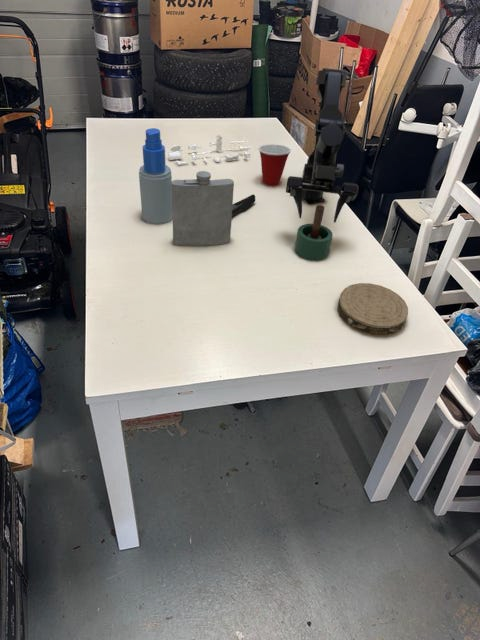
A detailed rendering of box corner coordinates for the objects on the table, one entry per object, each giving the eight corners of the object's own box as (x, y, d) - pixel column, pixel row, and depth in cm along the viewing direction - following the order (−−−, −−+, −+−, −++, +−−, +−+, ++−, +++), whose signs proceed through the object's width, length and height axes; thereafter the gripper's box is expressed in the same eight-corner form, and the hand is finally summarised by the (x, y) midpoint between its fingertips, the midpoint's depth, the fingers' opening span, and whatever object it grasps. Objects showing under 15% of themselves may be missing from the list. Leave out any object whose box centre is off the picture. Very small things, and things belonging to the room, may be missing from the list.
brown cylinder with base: (308, 244, 130) (316, 201, 121) (321, 249, 128) (330, 206, 120) (302, 250, 127) (310, 207, 119) (314, 255, 126) (323, 212, 117)
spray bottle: (153, 206, 141) (148, 122, 125) (178, 214, 138) (176, 129, 122) (136, 218, 135) (128, 131, 118) (162, 227, 132) (158, 139, 116)
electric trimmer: (258, 205, 147) (259, 195, 145) (227, 221, 137) (228, 212, 135) (248, 201, 149) (249, 192, 146) (218, 217, 139) (218, 207, 137)
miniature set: (247, 146, 181) (258, 162, 174) (159, 157, 172) (167, 175, 165) (248, 130, 176) (259, 147, 169) (158, 141, 167) (165, 159, 160)
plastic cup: (276, 173, 166) (281, 140, 158) (291, 186, 158) (297, 152, 151) (249, 177, 162) (252, 143, 154) (264, 190, 155) (268, 155, 147)
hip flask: (229, 237, 131) (233, 169, 117) (231, 244, 128) (236, 176, 115) (172, 239, 128) (170, 170, 114) (174, 247, 125) (172, 177, 111)
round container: (315, 239, 133) (318, 220, 129) (335, 256, 127) (339, 237, 123) (288, 246, 129) (291, 227, 125) (307, 263, 123) (311, 244, 119)
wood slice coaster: (416, 332, 105) (421, 323, 103) (352, 339, 102) (355, 329, 100) (386, 290, 117) (389, 280, 115) (327, 295, 113) (329, 285, 111)
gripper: (292, 145, 116) (284, 206, 115) (366, 154, 115) (359, 215, 114) (289, 163, 127) (282, 218, 126) (356, 171, 126) (350, 227, 125)
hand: (317, 219), depth 122 cm, fingers open, 9 cm apart
